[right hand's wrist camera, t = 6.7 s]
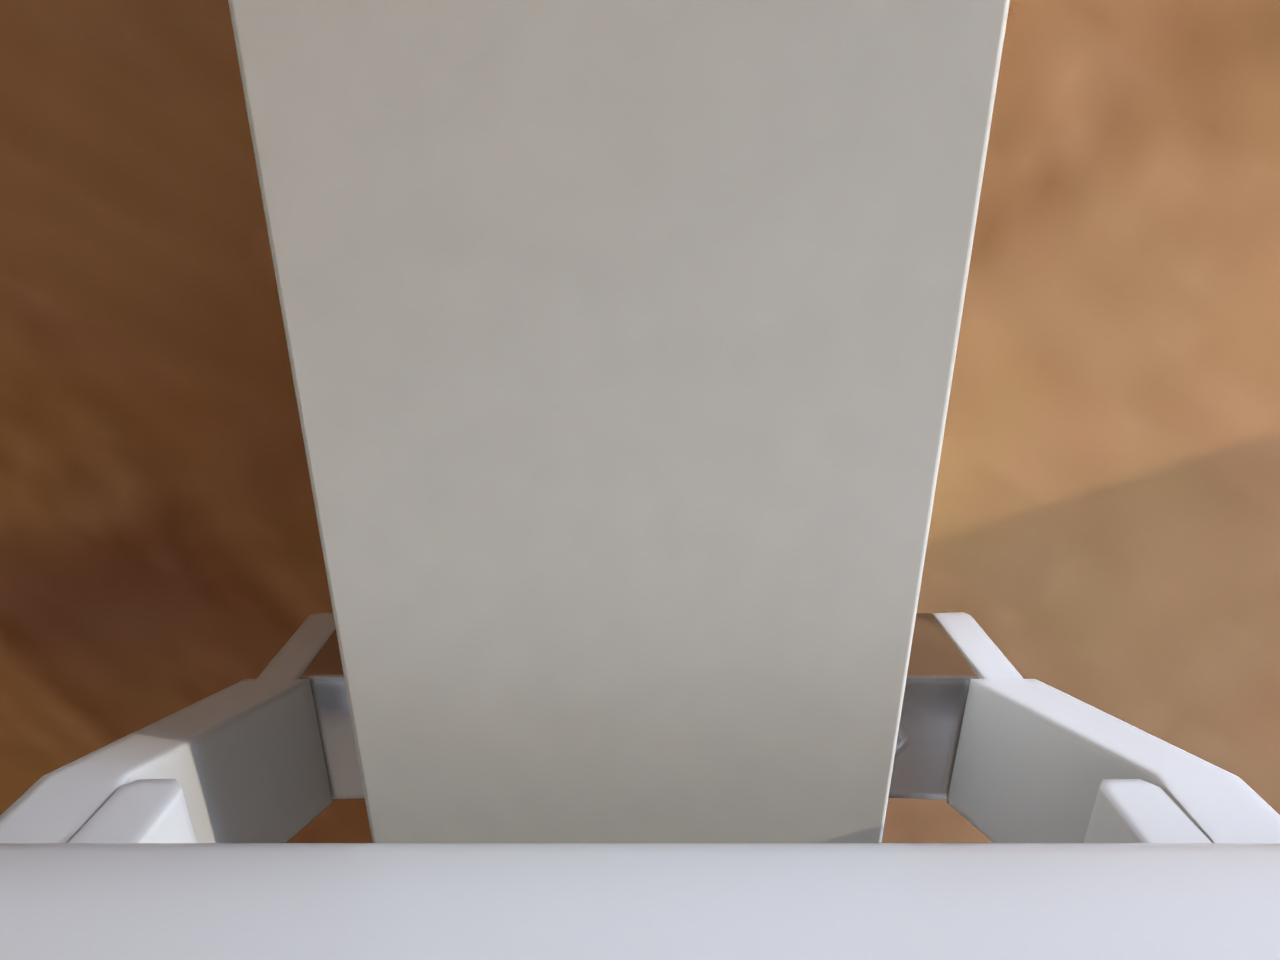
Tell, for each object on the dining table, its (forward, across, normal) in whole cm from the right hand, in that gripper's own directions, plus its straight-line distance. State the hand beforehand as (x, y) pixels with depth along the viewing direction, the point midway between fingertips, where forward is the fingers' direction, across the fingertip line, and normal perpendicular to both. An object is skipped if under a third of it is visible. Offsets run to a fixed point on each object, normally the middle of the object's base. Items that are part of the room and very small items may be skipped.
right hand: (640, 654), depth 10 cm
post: (+3, 0, -25) cm, 25 cm away
